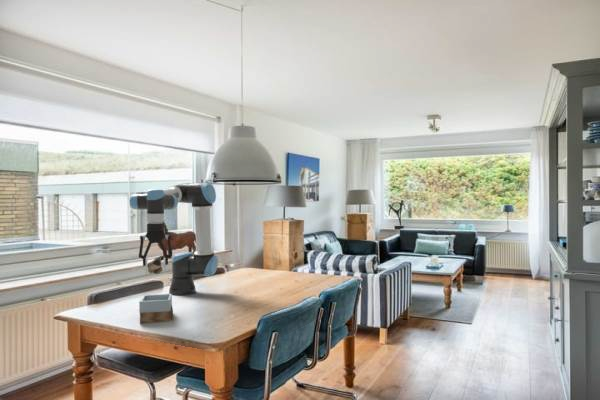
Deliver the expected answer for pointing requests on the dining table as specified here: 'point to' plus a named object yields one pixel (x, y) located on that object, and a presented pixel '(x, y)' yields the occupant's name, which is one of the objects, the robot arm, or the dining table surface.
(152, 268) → the rock
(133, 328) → the dining table surface
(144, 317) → the tower base
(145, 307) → the tower top
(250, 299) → the dining table surface
